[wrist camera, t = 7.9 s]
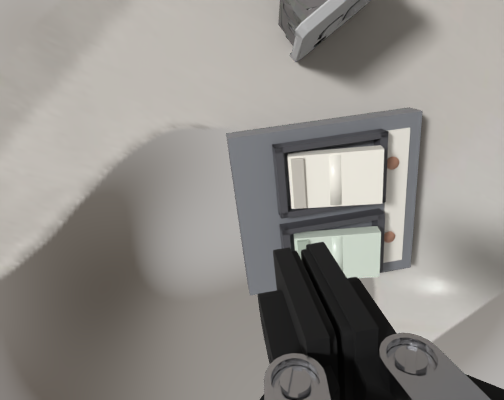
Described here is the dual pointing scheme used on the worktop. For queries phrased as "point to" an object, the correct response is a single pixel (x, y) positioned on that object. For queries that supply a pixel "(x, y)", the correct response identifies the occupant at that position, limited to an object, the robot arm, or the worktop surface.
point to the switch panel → (323, 218)
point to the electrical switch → (314, 21)
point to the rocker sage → (348, 248)
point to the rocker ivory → (336, 177)
